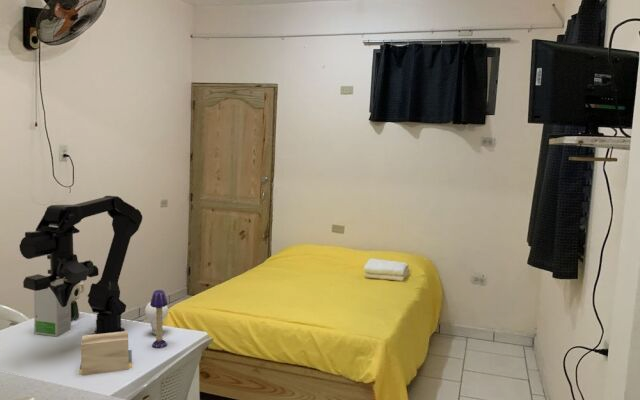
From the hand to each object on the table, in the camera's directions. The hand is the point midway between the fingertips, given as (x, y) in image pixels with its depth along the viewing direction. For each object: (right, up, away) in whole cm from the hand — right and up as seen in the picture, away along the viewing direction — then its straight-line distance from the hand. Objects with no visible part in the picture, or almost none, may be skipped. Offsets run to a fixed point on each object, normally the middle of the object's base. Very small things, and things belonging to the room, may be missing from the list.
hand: (63, 306), depth 139 cm
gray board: (+14, -14, -5) cm, 20 cm away
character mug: (-12, -10, +26) cm, 30 cm away
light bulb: (+21, -12, +15) cm, 28 cm away
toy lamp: (+24, -13, +6) cm, 28 cm away
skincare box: (-11, -11, +15) cm, 22 cm away
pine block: (+15, -14, -8) cm, 22 cm away
